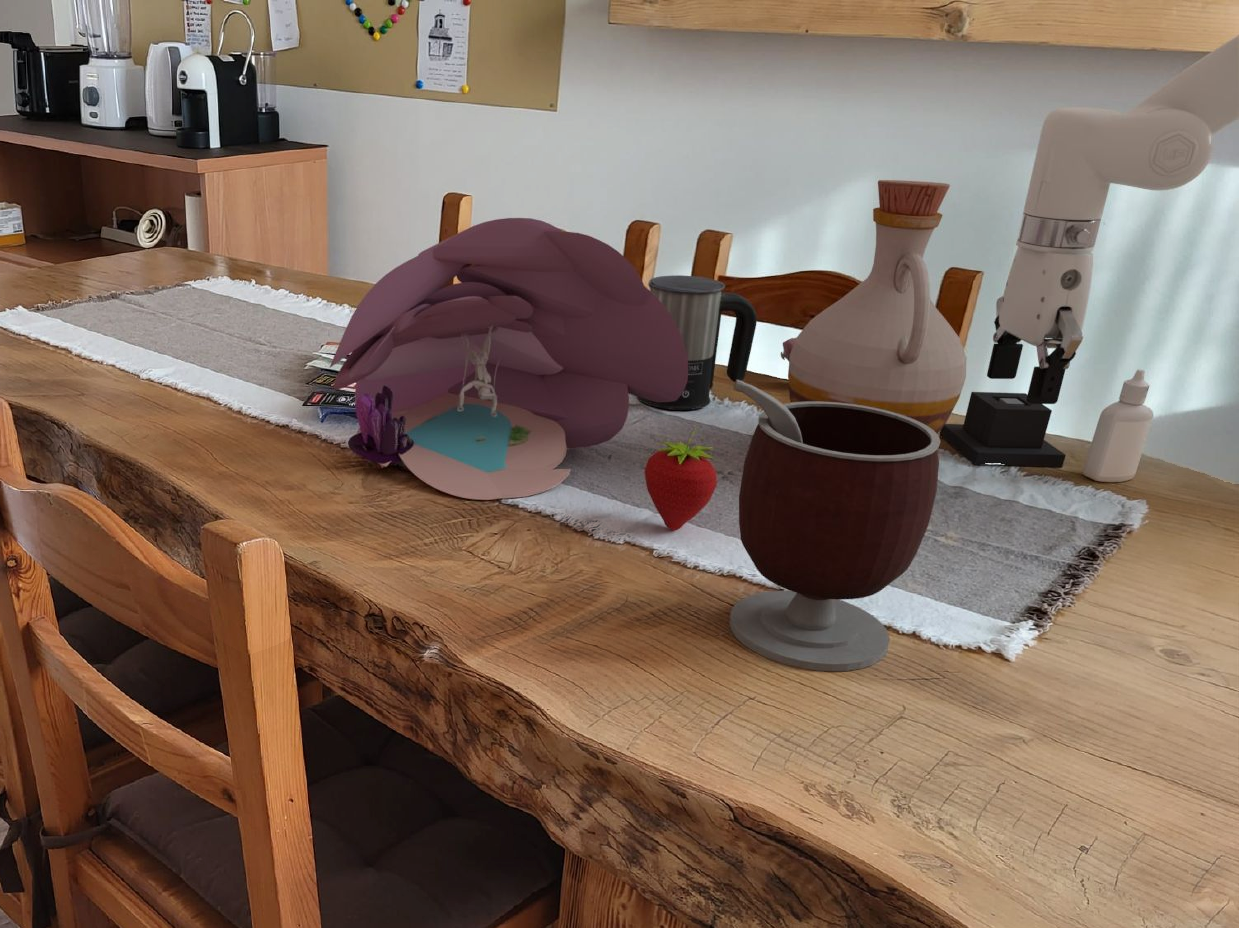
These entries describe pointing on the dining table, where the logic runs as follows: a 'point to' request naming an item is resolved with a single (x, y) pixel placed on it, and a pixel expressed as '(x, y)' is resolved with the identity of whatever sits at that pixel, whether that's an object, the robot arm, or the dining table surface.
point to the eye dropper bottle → (1120, 434)
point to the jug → (887, 324)
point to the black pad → (1006, 421)
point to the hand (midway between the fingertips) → (1020, 390)
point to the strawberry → (680, 482)
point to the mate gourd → (829, 525)
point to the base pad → (1001, 448)
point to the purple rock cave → (504, 357)
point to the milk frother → (704, 332)
